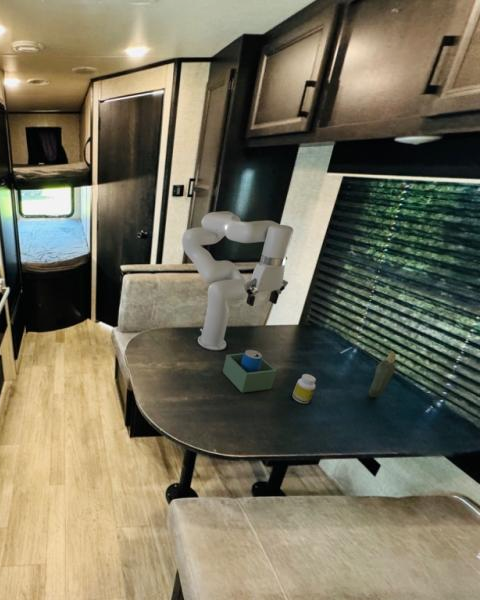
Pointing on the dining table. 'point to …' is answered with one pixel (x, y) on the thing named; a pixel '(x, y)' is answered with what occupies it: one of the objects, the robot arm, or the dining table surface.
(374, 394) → the olive brown bottle
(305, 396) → the supplement bottle
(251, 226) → the robot arm
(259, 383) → the bin
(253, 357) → the beverage can
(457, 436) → the dining table surface
